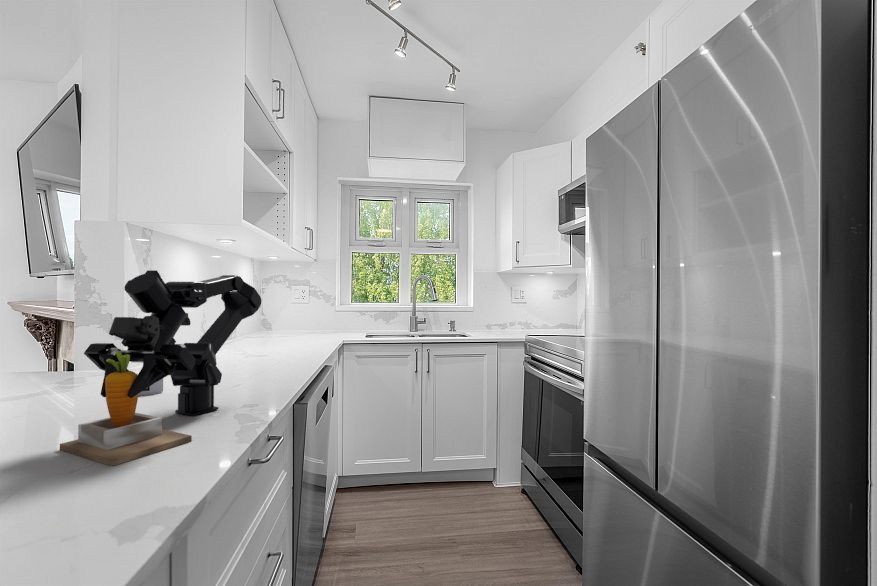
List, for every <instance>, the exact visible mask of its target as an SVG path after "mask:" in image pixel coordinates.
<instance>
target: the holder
mask: <svg viewBox="0 0 877 586" xmlns="http://www.w3.org/2000/svg"><path fill="white" fill-rule="evenodd" d="M77 427H78V429H77V431H78V432H77V435H78V436H77V437H78V439H74V440H70V441H66V442H63V443H60V444H59V450H60V451H62V452H66V453H69V454H72V455H75V456H78V457H82V458H85V459H88V460H90V461H94V462H98V463H101V464H104V465H106V466H111V467H114V466H116V465H120V464H123V463H125V462H129V461H134V460H136V459H139V458H142V457H145V456H149V455H152V454H155V453H157V452H161V451H164V450H167V449H171V448H175V447H177V446H180V445H183V444H187V443H189V442H192V441H193V440H192V438H193V437H192V435H191V434H188V433H187V434H185V433H181V432H177V431H173V430H168V429H164V428H163V418H162V417H158V416H153V415H150V414H144V413H138V412H135V415H134V418H133V420H132V423H131V424H130V425H126V426H122V427H118V428H115V427H114V425H113V423H112V421H111V419H110V417H107V418H106V417H105V418H102V419H96V420H93V421H89V422H84V423H79V424H78V425H77Z"/></svg>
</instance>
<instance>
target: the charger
mask: <svg viewBox="0 0 877 586" xmlns="http://www.w3.org/2000/svg"><path fill="white" fill-rule="evenodd" d="M136 374H137V375H138V374H139V373H136ZM163 392H164V378H163V379H161V380H159V381H158V382H156V383H154V384H153V385H151V386H149V387H148V388H146V389H145V390H143V391H142V392H140V393H139V394H138V396H145V395H156V394H161V393H163Z"/></svg>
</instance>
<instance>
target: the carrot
mask: <svg viewBox="0 0 877 586" xmlns="http://www.w3.org/2000/svg"><path fill="white" fill-rule="evenodd" d="M116 355H117V357H118V360H119V362H120V363H119V362H115V361H114V360H112V359H107V360H106V361H107V362H108V363H111V364H112V365H114V366H115V367H116V369H117V371H118V372H114V373H111V374H109V375H107V376H106V378H105V391H106V397H105V399H106V400H105V401H106V402H105V403H106V408H107V411H108V414H109V418H110V419H111V421H112V423H113V425H114V427H115V428H118V427H122V426H126V425H130V424H131V423H132V420H133V418H134V415H135V413H136V410H137V405H138V401H139V400H138V399H139V395H138V394H137V395H136V396H134V397H133V398H130V397H128V396H127V394H128V391H129V389H130V387H131V385H132V384H133V382H134V381H135V379H136V377H137V376H138V375H137V374H138V373H136V372H134V371H132V370H129V371H126V369H128V366H129V363H130V361H129V360H130V355H129V354H126V355H122V353H121V351H117V352H116ZM120 365H121V367H120Z"/></svg>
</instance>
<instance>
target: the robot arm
mask: <svg viewBox="0 0 877 586" xmlns="http://www.w3.org/2000/svg"><path fill="white" fill-rule="evenodd" d="M124 291H125V292H126V294H128V296H129V297H130V298H131V300H132V301H133V302H134V304H135V305H136V306H137V307H138V308H139V309H140V311H141V312H143V313H145V314H150V315H144V316H143V317H134V316H133V317H132V316H128V317H127V316H115V317H114V318H113V321H112V323H111V326H110V329H109V331H108V335H109V336H111V337H112V336H113V337H116V338H119V339H122V341H121V344H122V345H123V347H127V349H126V350H125V349H120V348H118V347H117V346H116V345H115V344H114V342H111V343H109V342H108V343H107V342H102V343H101V342H95V343H90V344H89V345H88V347H87V348H86V350H85V351H84V352H83V354H84V356H86V357H87V358H88V359H89V360H90V361H91V362H92V363H93V364H94V365H95V366H96V367H97V368H98V369H99V370H101V371H104V376H103V381H102V385H101V390H100V396H102V398H106V391H105V378H106V376H107V375H109V374H111V373H114V372H118V371H117V369H116V367H115V366H114V365H112V364H111V363H108V362H107V361H106V360H107V359H112V360H114V361H115V362H119V360H118V357H117V355H116V352H117V351H121V353H122V355H126V354H129V355H130V360H129V362H131V363H138V364H139V363H142V367H141V369H140V371H139V372H138V373H137V374H138V376H137V377H136V379H135V381H134V382H133V384H132V385H131V387H130V389H129V391H128V394H127V396H128V397H130V398H133V397H134V396H136V395H137V394H139V393H140V392H142V391H143V390H145V389H146V388H148V387H149V386H151V385H153V384H154V383H156V382H158V381H159V380H161V379H163V380H164V379H165V378H167V377H168V376H170V379H171V383H172V386H174V387H177V386H179V393H178V394H177V409H176V410H175V411H174V413H176V414H180V415H187V416H192V417H193V416H199V415H201V414H205V413H209V412H213V411H216V410H217V411H218V410H219V407H218V406H215V386H218V385H219V384H221V381H222V375H223V373H222V372H221V370H220V369H219V367H217V364H218V363H217V357H216V355H217V354H218V352H219V351H220V349H221V348H222V347H223V346H224V344H225V343H226V342H227V340H228V339H229V338H230V336H231V335H232V333H233V332H234V331H235V330H236V328H237V326H238V325H239V324H240V323H241V321H243V320H245V319H247V318H249V317H252V316H253V315H254V314H256V313H257V312H258V310H259V309H260V308H261V305H262V297H261V295H260V294H259V293H258V291H257V289H256V288H255V287H254V286H252V285H250V284H249V283H247V282H245V281H244V279H243V278H242V277H241V276H240V275H239V276H238V275H236V274H235V275H232V274H227V275H225V274H223V275H220V276H217V277H214V278H209V279H204V280H200V281H199V280H198V281H168V282H166V283H165V282H164V280H163V278H162V277H161V274H160V272H159V271H158V270H146V271H145V272H144V273H143V274H142V273H141V274H139V275H138V276H135V277H134V278H132V279H130V280H127V282H126V283H125V284H124ZM219 295H221V296H220V297H221V298H220V299H221V300H222V302H223V303H224V310H223V311H222V312H221V313H220V315H219V316H218V317H217V318H216V320H215V321H214V322H213V323H212V324H211V325H210V326H209V328H208V329H207V330H206V332H204V334H203V335H202V336H201V338H199V340H197V342H184V343H177V341H176V339H175V338H174V337H175V335H176V334H177V332H179V331H178V330H179V329H180V327H181V326H183V327H184V326H191V319H190V318H189V313H187V312H186V311H185V308H188V309H189V308H192V309H193V308H196V309H197V308H199V307H201V306H203V304H205V303H207V301H208V299H209V298H212V297H213V298H214V297H216V296H219ZM119 363H120V362H119ZM120 367H121V365H120ZM126 371H130V370H129V369H128V368H127V369H126Z"/></svg>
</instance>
